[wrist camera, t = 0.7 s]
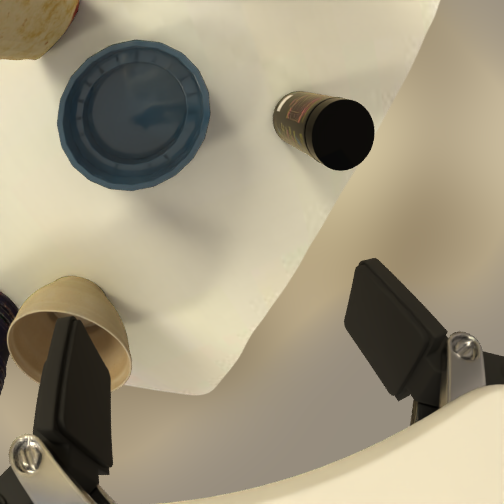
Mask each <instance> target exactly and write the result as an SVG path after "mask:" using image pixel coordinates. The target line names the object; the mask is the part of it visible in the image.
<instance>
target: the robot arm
mask: <svg viewBox="0 0 504 504" xmlns="http://www.w3.org/2000/svg"><path fill="white" fill-rule="evenodd" d="M344 324H345V328H346V330H347V331H348V333H349V334H350V335H351V337H352V338H353V340H354V341H355V343H356V344H357V346H358V347H359V349H360V350H361V352H362V353H363V355H364V356H365V357H366V359H367V360H368V362H369V363H370V365H371V366H372V368H373V369H374V371H375V372H376V374H377V375H378V377H379V378H380V380H381V381H382V383H383V384H384V386H385V387H386V389H387V390H388V392H389V393H390V394H391V395H393V396H394V395H395V397H396V398H397V400H398V401H400V400H402V399H403V398H405V397H407V396H409V395H410V394H411V396H412V397H413V399H414V401H413V409H412V416H411V423H410V426H409V427H407V428H406V429H404V430H402V431H400V432H398V433H396V434H394V435H392V436H390V437H389V438H387V439H385V440H383V441H381V442H379V443H376V444H374V445H372V446H370V447H368V448H366V449H364V450H361V451H359V452H357V453H355V454H353V455H350V456H348V457H345V458H343V459H341V460H338V461H336V462H333V463H331V464H328V465H326V466H323V467H320V468H317V469H315V470H312V471H309V472H306V473H303V474H300V475H297V476H294V477H291V478H288V479H285V480H281V481H277V482H274V483H270V484H267V485H263V486H259V487H255V488H251V489H247V490H242V491H238V492H234V493H229V494H224V495H219V496H213V497H207V498H201V499H194V500H186V501H178V502H169V503H158V504H504V356H499V355H495V354H491V353H487V352H483V351H482V347H481V345H480V343H479V342H478V340H477V339H476V338H475V337H474V336H472V335H470V334H468V333H466V332H455V333H453V334H452V335H450V337H449V338H448V337H447V336H446V334H447V330H446V329H445V328H444V327H443V326H442V325H441V324H440V323H439V322H438V321H437V319H436V318H435V317H434V316H433V315H432V314H431V313H430V312H429V311H428V310H427V309H426V308H425V307H424V305H423V304H422V303H421V302H420V301H419V300H418V299H417V298H416V297H415V296H414V295H413V294H412V293H411V292H410V291H409V290H408V289H407V288H406V287H405V286H404V285H403V284H402V283H401V282H400V281H399V280H398V279H397V278H396V277H395V276H394V275H393V274H392V273H391V272H390V271H389V270H388V269H387V268H386V267H385V266H384V265H383V264H382V263H381V262H380V261H379V260H378V259H376V258H372V259H368V260H364V261H361V262H360V263H359V265H358V266H357V267H356V269H355V273H354V279H353V284H352V288H351V293H350V298H349V302H348V307H347V311H346V315H345V319H344ZM9 462H10V464H11V466H10V467H9V468H8V469H7V470H6V471H5V472H4V473H3V474H2V475H1V476H0V504H117V503H116V502H115V501H114V500H113V499H112V498H111V497H110V496H109V495H108V494H107V493H106V492H105V491H104V490H103V489H102V488H101V486H99V476H98V475H109V467H112V465H113V457H112V440H111V377H110V373H109V370H108V368H107V367H106V365H105V363H104V362H103V360H102V358H101V356H100V355H99V353H98V351H97V349H96V348H95V346H94V344H93V342H92V340H91V338H90V336H89V335H88V333H87V331H86V329H85V327H84V325H83V323H82V321H81V320H77V319H76V318H75V317H74V316H69V317H62V318H58V319H57V321H56V324H55V328H54V331H53V335H52V339H51V344H50V348H49V352H48V357H47V360H46V361H45V363H44V366H43V370H42V375H41V380H40V386H39V392H38V398H37V404H36V411H35V419H34V427H33V435H32V434H24V435H21V436H19V437H17V438H16V439H15V440H14V441H13V443H12V445H11V447H10V450H9Z"/></svg>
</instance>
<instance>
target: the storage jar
mask: <svg viewBox="0 0 504 504" xmlns="http://www.w3.org/2000/svg"><path fill="white" fill-rule="evenodd" d="M17 313H18V309H17V307H16V306H15V304H14V303H13V302H12V301H11V300H10V299H9V298H8V297H7V296H6V295H5V294H3V293H2V292H0V394H1V391H2V388H3V385H4V379H5V377H6V364H7V361H8V357H9V355H10V352H9V349H8V345H7V334H8V330H9V328H10V325H11V323H12V322H13V320H14V319H15V318H16V315H17Z"/></svg>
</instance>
